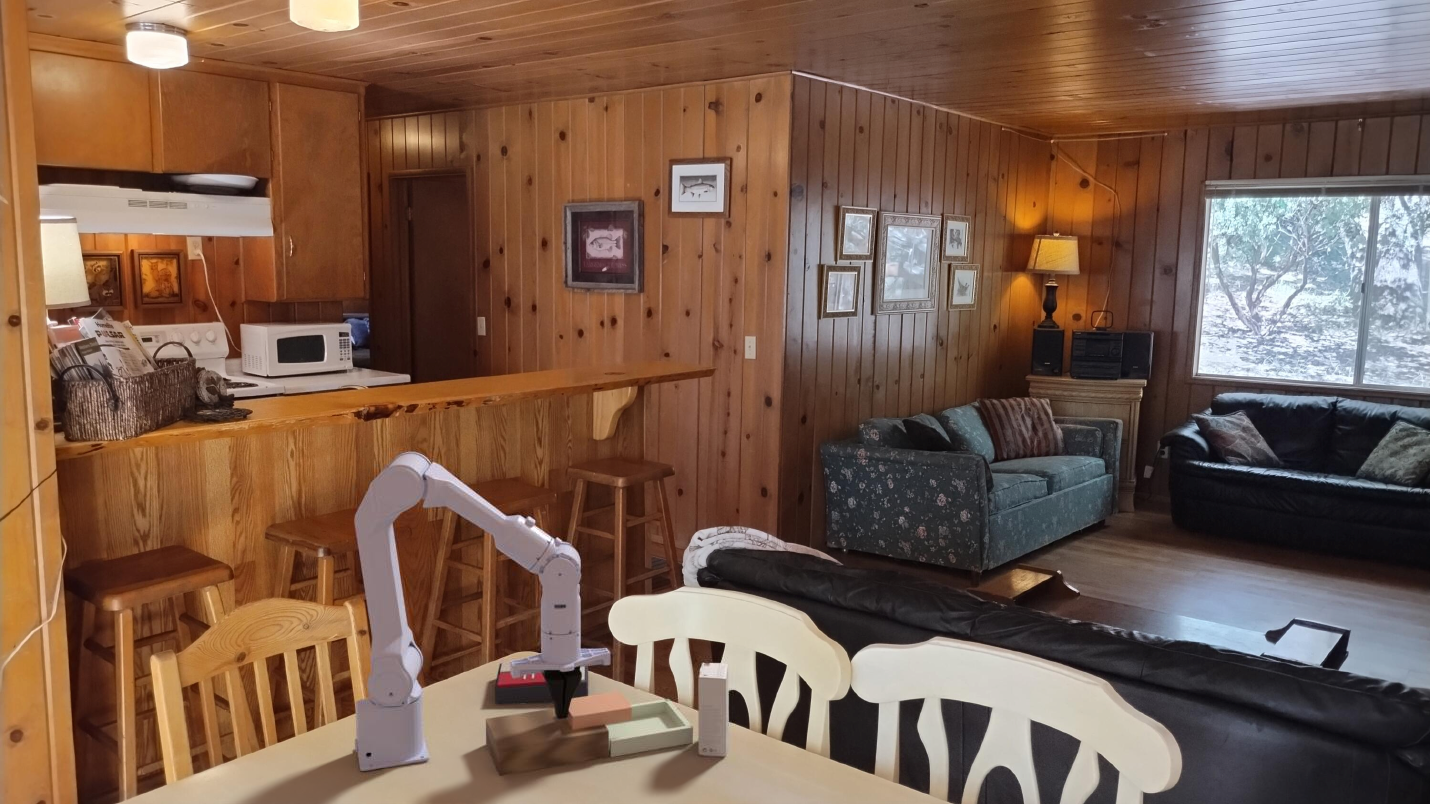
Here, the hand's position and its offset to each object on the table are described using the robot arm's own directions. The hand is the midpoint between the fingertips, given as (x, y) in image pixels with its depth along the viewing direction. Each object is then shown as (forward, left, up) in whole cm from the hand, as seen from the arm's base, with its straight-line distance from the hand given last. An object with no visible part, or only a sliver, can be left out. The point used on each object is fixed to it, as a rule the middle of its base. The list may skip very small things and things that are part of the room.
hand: (561, 715), depth 155 cm
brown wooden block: (-2, 0, -5) cm, 5 cm away
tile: (+5, 0, -1) cm, 6 cm away
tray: (+12, 0, -5) cm, 13 cm away
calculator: (+2, +22, -6) cm, 22 cm away
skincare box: (+21, -7, -5) cm, 23 cm away
